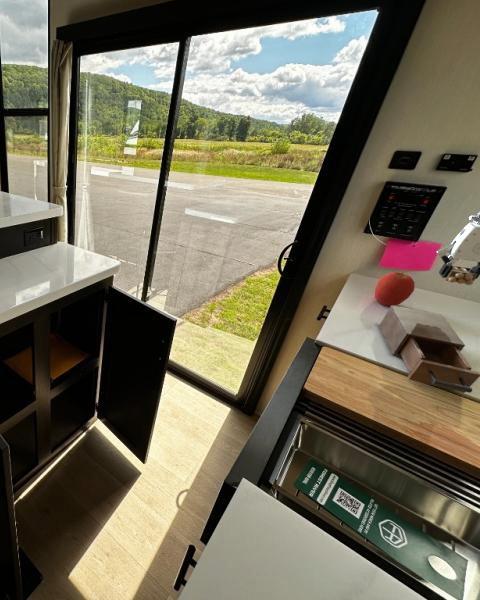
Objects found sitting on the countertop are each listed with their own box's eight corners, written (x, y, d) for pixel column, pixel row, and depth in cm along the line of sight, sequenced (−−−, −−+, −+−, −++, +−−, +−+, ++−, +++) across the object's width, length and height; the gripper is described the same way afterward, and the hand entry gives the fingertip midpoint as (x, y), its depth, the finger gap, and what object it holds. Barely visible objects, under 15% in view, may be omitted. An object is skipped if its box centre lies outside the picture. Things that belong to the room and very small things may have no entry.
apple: (373, 308, 119) (392, 276, 111) (363, 295, 127) (380, 263, 119) (407, 313, 116) (429, 280, 108) (395, 299, 124) (414, 267, 116)
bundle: (438, 271, 103) (444, 262, 101) (461, 275, 100) (468, 265, 99) (447, 282, 97) (454, 273, 95) (472, 286, 95) (480, 276, 93)
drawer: (472, 406, 80) (490, 388, 77) (414, 391, 85) (428, 373, 81) (441, 356, 95) (454, 339, 92) (392, 346, 100) (404, 329, 96)
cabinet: (447, 367, 93) (465, 345, 88) (392, 355, 98) (406, 333, 93) (426, 335, 105) (441, 314, 101) (378, 325, 110) (391, 305, 106)
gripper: (458, 221, 90) (422, 277, 99) (548, 230, 82) (500, 289, 92) (448, 214, 95) (415, 267, 105) (531, 221, 88) (488, 278, 98)
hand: (455, 277), depth 98 cm, fingers closed on bundle, 5 cm apart
